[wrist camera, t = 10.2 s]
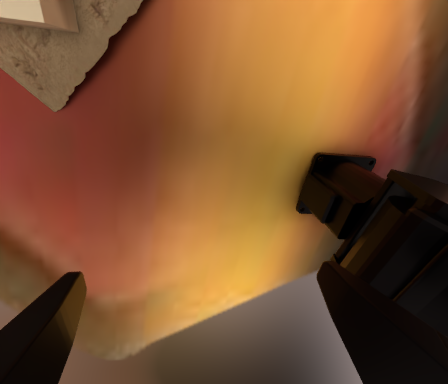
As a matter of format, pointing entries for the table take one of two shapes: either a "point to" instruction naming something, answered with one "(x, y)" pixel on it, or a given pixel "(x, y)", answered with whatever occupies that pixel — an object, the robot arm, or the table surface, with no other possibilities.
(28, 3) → the taped cardboard box
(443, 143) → the table surface
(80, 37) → the clay tablet
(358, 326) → the robot arm
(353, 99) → the table surface
